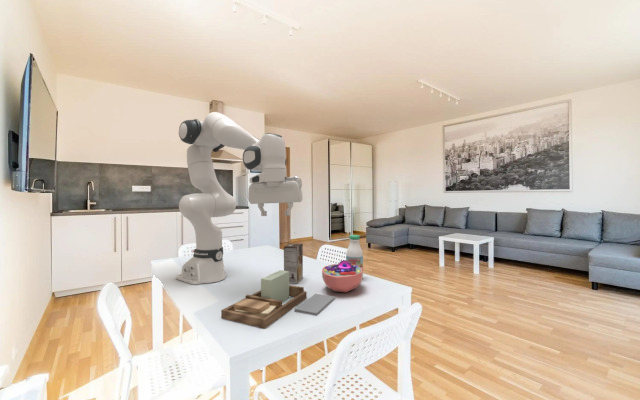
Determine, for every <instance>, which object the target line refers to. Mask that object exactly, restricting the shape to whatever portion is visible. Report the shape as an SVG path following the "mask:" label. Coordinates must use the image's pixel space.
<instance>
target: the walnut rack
mask: <svg viewBox="0 0 640 400" xmlns="http://www.w3.org/2000/svg"><path fill="white" fill-rule="evenodd" d="M307 294H308V293H307V291H305V290H304V286H299V285H298V286H297V285H293V284H292V285H291V284H289V298H291V299H290V300H289V301H287V302H286V303H284V304H283V302H282V301H280V300H274V299H269V298H264V297H261V289H260V290H259V291H257V292H255V293H253V294H246V295H244V298H247V299H252V300H258V301H264V302H270V305H272V306H276V310H275V311H273V312H272V313H270V314H269V315H267V316H266V317H264V318H263V317H259V316H254V315H250V314H245V313H241V312H236V311H234V310H235V309H234V304H235V303H232V304H231V305H230V306H227V307H225V308H223V309H221V311H220V312H221V315H220V317H221V319H223V320H227V321H232V322H235V323H238V324H239V323H240V324H243V325H248V326H253V327H256V328H262V329H266V328H268V327H270V326H271V325H272V324H273V323H275V322H276V321H278V320H279V319H280V318H282V317H283V316H285V315H286V314H288V312H290V311H292V310H293V309H295V307H298V306H299V304H302V303H303V302H305V301H306V300H307Z"/></svg>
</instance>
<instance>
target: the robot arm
mask: <svg viewBox="0 0 640 400" xmlns="http://www.w3.org/2000/svg"><path fill="white" fill-rule="evenodd" d="M178 137H179V138H180V141H181V142H183V143H185V144H186V145H187V144H188V145H190V146H188V147H187V149H186V164H187V169H188V174H189V179H190V183H191V185H192V186H193V187H195V189H198V190H199V191H200V192H202V193H195V192H194V193H190V194H185V195H183V196H182V197H181V198H180V200H179V202H178V209H179V212H180V214H181V215H182V216H183V218H186V219H187V220H188V221H189V223H191V225H192V226H193V230H194V233H195V246H196V247H195V248H194V249H191V252H192V253H193V254H192V257H191V258H189V260H187V261H186V262H184V263H183V265H182V268H181V274H178V275H177V276H175V279H176V280H178V281H181V282H184V283H187V284H189V285H193V286H194V285H200V284H211V283H217V282H220V281H222V280H225V279H226V278H227V275H226V270H225V265H224V258H223V257H224V256H223V255H224V247H223V232H222V229H221V228H220V227H219V226H217V225H215V224H213V222H212V218H220V217H222V218H223V217H226V216H230V215H232V214H233V213H234V212H235V210H236V207H237V202H236V199H235V197H234V196H232V195H231V194H230V193H228V192H227V191H226V190H225V189H224V187H222V186H221V184H220V182H219V181H218V178H217V175H216V171H215V167H214V163H213V160H212V152H213V153H217V152H219V150H222V149H223V148H224V147H227V148H230V149H231V148H232V149H238V150H241V151H242V150H243V153H242V163H243V166H244V167H245V168H246V169H247V170H249V171H253V172H260V173H258V174H256V175H253V176H251V177H250V178H249V183H250V185H249V186H248V195H247V197H248V202H249V204H251V205H257V208H258V209H259V210H260V215H261V217H267V216H268V213H267V210H265V209H264V207H265V204H281V203H282V204H283V203H287V209H286V210H284V216H291V211H292V209H293V207H294V203H301V202H302V201H303V192H302V186H303V182H302V179H301V178H300V177H298V176H288V175H287V174H288V173H287V150H286V148H287V147H286V142H285V139H284V137H283V136H282V135H280V134H276V133H271V132H267V133H263V134H262V135H261V137H260V139H259V138H257V137H256V136H254V135H253V134H252V133H250V132H249V131H247V130H246V129H244V128H243V127H242V126H241V125H240V124H238V123H237V122H235V121H234V120H233V119H231V118H230V117H229V116H227V115H225V114H223V113H221V112H218V111H213V112H212V111H211V112H210V113H208V114H207V115H206V116H205V117H204V120H203V121H202V120H198V118H194V119H188V120H184V121H182V122H181V123H180V125H179V128H178Z"/></svg>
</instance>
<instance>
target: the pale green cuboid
mask: <svg viewBox="0 0 640 400" xmlns="http://www.w3.org/2000/svg"><path fill="white" fill-rule="evenodd" d="M289 285H290V283H289V271H284V269H283V270H277V271H275V272H273V273H271V274H268V275H266V276H264V277H261V278H260V290H261V297H264V298H269V299H274V300H280V301H282V303H283V302H285V301H287V300H288V299H289V298H290V297H289Z"/></svg>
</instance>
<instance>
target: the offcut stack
mask: <svg viewBox="0 0 640 400" xmlns="http://www.w3.org/2000/svg"><path fill="white" fill-rule="evenodd" d="M233 304H234V309H235V310H234V311H236V312H241V313H245V314H250V315H254V316H259V317H263V318H264V317H266V316H267V315H269V314H270V313H272V312H273V311H275V310H276V306H272V305H270V302H264V301H258V300H252V299H247V298H245V297H244V298H243V299H241V300H238V301H237V302H235V303H233Z"/></svg>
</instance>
